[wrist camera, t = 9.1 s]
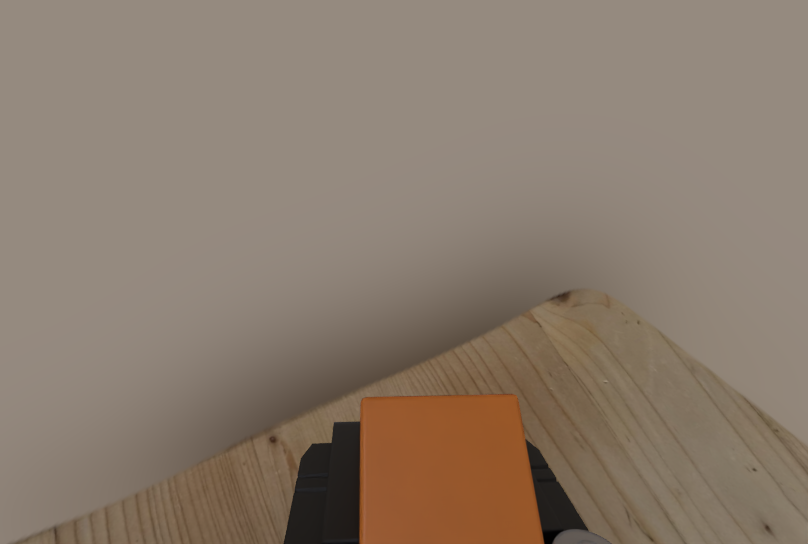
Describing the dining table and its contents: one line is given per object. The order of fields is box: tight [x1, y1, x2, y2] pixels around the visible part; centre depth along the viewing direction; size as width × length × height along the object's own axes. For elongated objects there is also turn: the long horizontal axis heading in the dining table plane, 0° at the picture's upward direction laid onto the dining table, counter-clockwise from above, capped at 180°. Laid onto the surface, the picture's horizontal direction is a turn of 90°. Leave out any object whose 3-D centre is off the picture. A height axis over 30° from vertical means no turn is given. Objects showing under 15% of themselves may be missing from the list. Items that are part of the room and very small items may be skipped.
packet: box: [359, 394, 544, 544], centre depth 10 cm, size 3×5×9 cm, turn 3°
